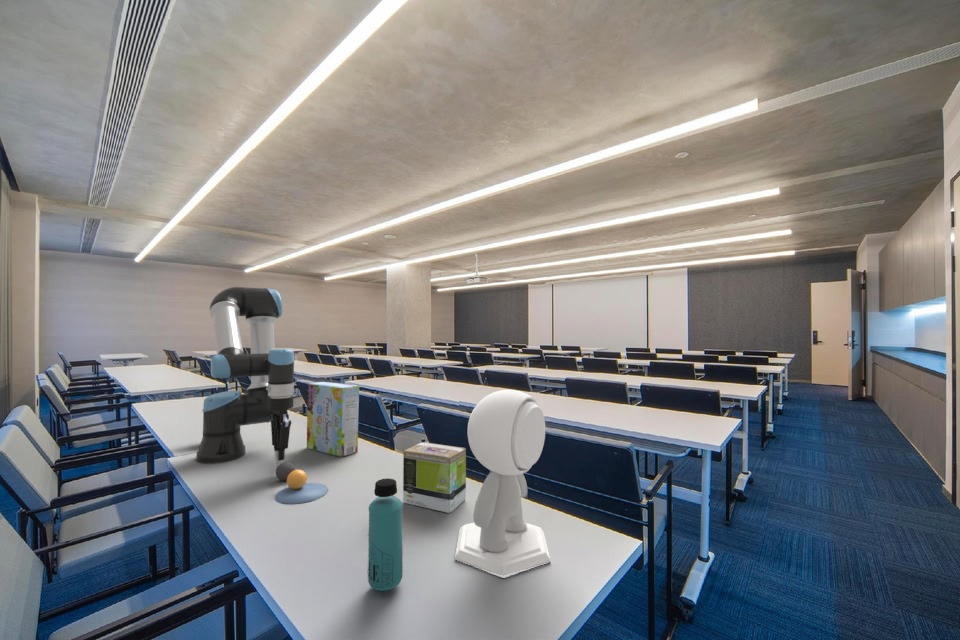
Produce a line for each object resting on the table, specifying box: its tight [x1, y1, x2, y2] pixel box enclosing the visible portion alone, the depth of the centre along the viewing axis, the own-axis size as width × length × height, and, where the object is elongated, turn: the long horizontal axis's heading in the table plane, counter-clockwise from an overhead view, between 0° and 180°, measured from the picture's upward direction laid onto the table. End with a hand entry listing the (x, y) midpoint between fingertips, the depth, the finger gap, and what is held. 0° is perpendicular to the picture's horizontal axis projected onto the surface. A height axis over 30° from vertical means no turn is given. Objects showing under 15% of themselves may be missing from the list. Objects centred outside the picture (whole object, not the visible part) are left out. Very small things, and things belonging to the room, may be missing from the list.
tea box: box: [402, 441, 467, 514], centre depth 111 cm, size 15×10×15 cm
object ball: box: [286, 469, 308, 489], centre depth 118 cm, size 6×6×6 cm
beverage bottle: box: [367, 478, 404, 592], centre depth 74 cm, size 6×7×20 cm
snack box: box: [306, 381, 360, 458], centre depth 155 cm, size 22×9×26 cm, turn 58°
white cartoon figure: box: [454, 389, 551, 576], centre depth 89 cm, size 20×23×35 cm
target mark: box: [274, 482, 329, 505], centre depth 115 cm, size 14×14×1 cm
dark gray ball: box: [275, 461, 296, 482], centre depth 125 cm, size 6×6×6 cm
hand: (279, 469), depth 129 cm, fingers closed
